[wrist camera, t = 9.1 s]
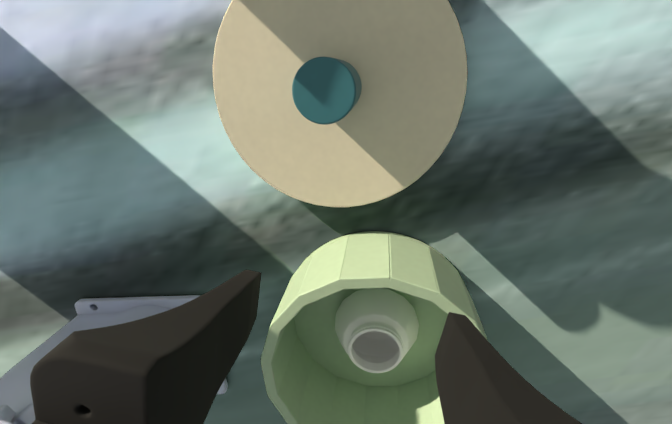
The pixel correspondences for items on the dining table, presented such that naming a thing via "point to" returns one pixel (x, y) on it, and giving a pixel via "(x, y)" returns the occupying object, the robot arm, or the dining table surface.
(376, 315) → the lidless jar
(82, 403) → the robot arm
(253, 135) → the tub lid
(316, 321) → the tub
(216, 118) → the dining table surface
